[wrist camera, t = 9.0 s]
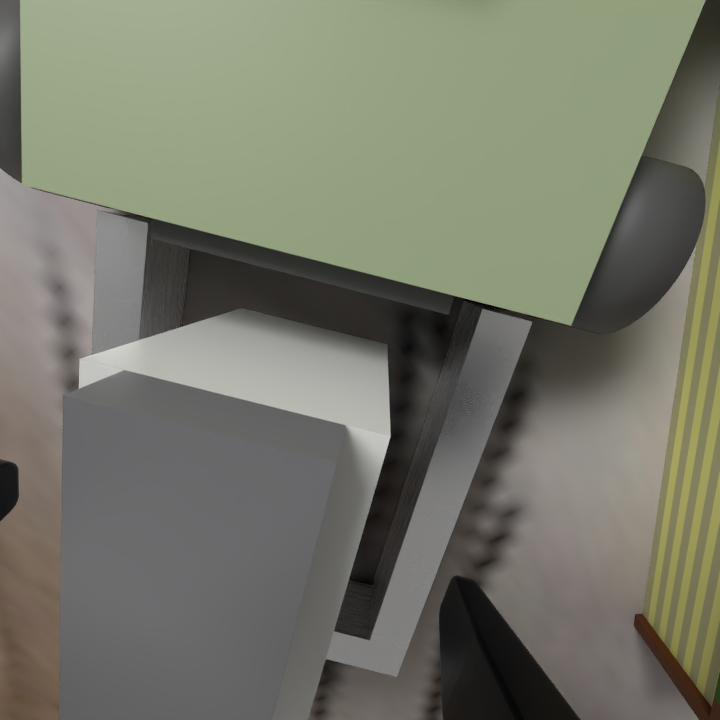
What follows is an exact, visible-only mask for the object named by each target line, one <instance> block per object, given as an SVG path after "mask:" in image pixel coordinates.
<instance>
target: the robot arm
mask: <svg viewBox="0 0 720 720" xmlns="http://www.w3.org/2000/svg"><path fill="white" fill-rule="evenodd" d="M18 498H19V478H18V467H17V465H16V464H14V463H13V462H9V461H5V460H1V459H0V521H1V520H2V519H3V518H4V517H5V516H6V515H7V514H8V513H9V512H10V511H11V510H12V509H13V508H14V506H15V505H16V503H17V501H18ZM439 631H440V661H441V690H442V711H443V720H580V718H579V717H578V716H577V714H576V713H575V712H574V711H573V709H572V708H571V707H570V705H569V704H568V703H567V701H566V700H565V699H564V697H563V696H562V695H561V693H560V692H559V691H558V689H557V688H556V687H555V685H554V684H553V683H552V681H551V680H550V679H549V678H548V676H547V675H546V674H545V672H544V671H543V670H542V668H541V667H540V666H539V664H538V663H537V662H536V660H535V659H534V658H533V656H532V655H531V654H530V652H529V651H528V650H527V649H526V647H525V646H524V645H523V643H522V642H521V641H520V639H519V638H518V637H517V635H516V634H515V633H514V631H513V630H512V629H511V627H510V626H509V625H508V623H507V622H506V621H505V619H504V618H503V617H502V616H501V614H500V613H499V612H498V610H497V609H496V608H495V606H494V605H493V604H492V602H491V601H490V600H489V598H488V597H487V596H486V594H485V593H484V592H483V590H482V589H481V588H480V586H479V585H478V584H477V583H476V582H475V581H474V580H472V579H469V578H465V577H461V576H453V578H452V579H451V581H450V583H449V586H448V588H447V591H446V593H445V596H444V598H443V601H442V603H441V607H440V612H439Z"/></svg>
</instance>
